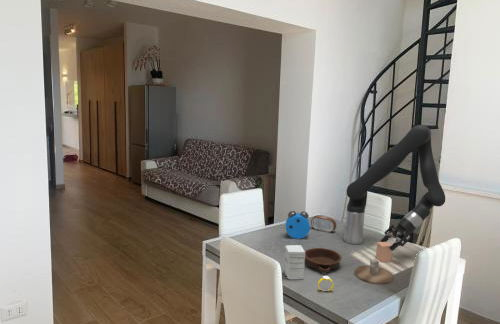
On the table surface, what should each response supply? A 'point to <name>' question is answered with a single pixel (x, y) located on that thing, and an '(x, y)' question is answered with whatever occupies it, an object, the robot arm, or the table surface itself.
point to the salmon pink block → (383, 252)
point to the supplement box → (294, 261)
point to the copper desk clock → (323, 223)
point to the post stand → (374, 273)
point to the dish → (322, 259)
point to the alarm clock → (297, 224)
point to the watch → (326, 280)
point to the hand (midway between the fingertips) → (386, 246)
